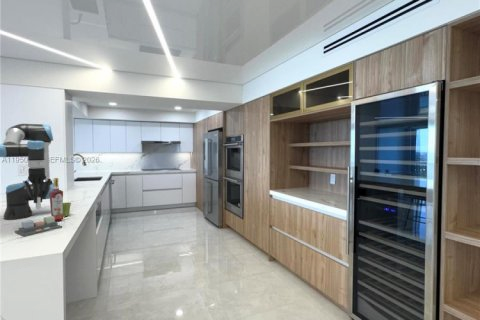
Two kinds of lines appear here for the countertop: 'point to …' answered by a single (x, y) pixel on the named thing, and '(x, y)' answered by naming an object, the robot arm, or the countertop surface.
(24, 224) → the key bluegrey
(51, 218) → the key sage
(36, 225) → the key terracotta
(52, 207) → the liquor
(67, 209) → the plant pot
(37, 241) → the countertop surface
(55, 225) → the keypad
